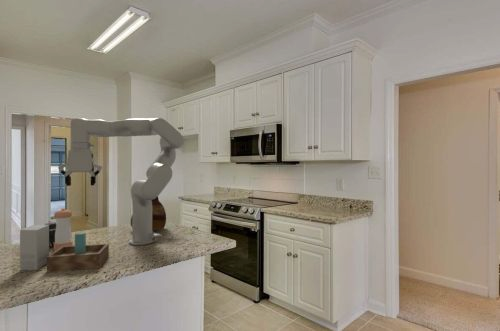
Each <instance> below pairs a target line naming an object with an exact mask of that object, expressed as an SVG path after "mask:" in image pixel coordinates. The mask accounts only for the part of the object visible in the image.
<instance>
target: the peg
mask: <svg viewBox="0 0 500 331" xmlns="http://www.w3.org/2000/svg"><path fill="white" fill-rule="evenodd" d="M86 240H87V239H86V232H77V233H74V246H75V254H86V245H87V243H86V242H87V241H86Z"/></svg>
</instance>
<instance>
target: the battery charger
mask: <svg viewBox="0 0 500 331" xmlns="http://www.w3.org/2000/svg"><path fill="white" fill-rule="evenodd" d="M43 225H49V249H50V248H54V243H55V231H56V221H54V222H47V223H44V224H43Z"/></svg>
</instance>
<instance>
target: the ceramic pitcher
mask: <svg viewBox="0 0 500 331" xmlns="http://www.w3.org/2000/svg"><path fill="white" fill-rule="evenodd" d="M151 201H152V231H153V232H154V231H158V230H162V229H164V228H165V226H166V223H167V214H166V209H165V207H164V205H163V204H162V202H161V201H160V200H159V195H158V196H157V197H156V198H155V199H153V200H151ZM130 226H131V227H132V216H131V217H130Z"/></svg>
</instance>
